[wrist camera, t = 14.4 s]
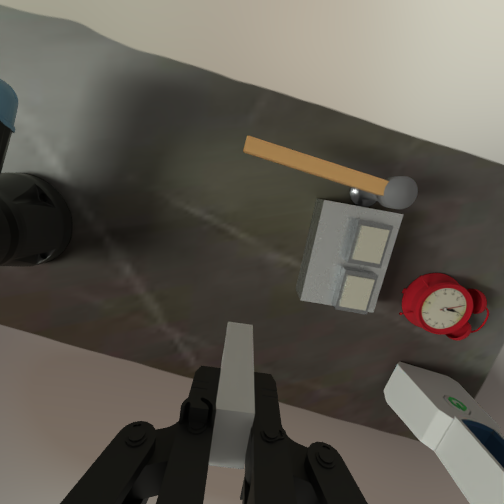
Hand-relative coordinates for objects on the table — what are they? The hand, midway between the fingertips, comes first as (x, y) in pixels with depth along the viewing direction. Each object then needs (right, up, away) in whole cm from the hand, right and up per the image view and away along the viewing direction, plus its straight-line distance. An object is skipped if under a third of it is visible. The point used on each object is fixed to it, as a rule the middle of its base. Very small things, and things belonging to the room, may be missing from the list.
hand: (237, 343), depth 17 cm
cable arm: (+11, +18, +27) cm, 34 cm away
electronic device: (+33, -20, +36) cm, 53 cm away
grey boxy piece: (+16, +8, +29) cm, 35 cm away
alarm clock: (+34, -4, +33) cm, 48 cm away
